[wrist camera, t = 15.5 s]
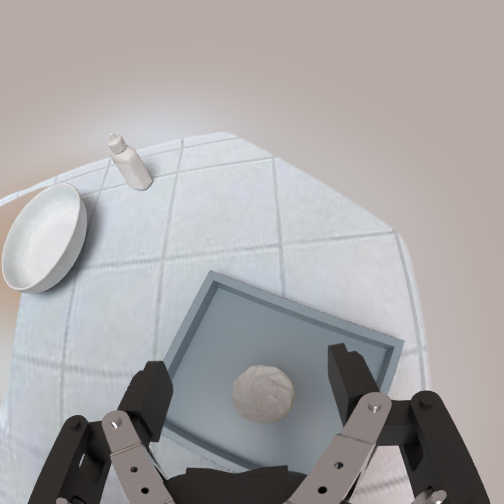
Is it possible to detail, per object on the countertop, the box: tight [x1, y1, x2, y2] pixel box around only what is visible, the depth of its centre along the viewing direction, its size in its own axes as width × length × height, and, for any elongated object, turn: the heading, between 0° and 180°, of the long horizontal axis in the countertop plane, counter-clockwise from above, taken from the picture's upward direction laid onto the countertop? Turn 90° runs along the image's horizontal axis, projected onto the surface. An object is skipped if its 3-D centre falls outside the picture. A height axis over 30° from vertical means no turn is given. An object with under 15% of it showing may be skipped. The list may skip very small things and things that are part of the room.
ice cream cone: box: [232, 365, 295, 423], centre depth 22 cm, size 5×5×15 cm
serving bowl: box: [2, 183, 87, 294], centre depth 40 cm, size 21×21×7 cm
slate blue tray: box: [161, 270, 404, 475], centre depth 28 cm, size 24×20×4 cm
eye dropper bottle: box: [108, 133, 152, 190], centre depth 42 cm, size 4×6×12 cm
